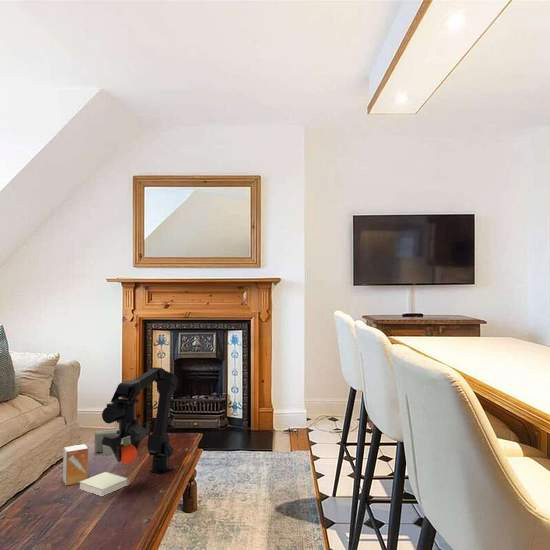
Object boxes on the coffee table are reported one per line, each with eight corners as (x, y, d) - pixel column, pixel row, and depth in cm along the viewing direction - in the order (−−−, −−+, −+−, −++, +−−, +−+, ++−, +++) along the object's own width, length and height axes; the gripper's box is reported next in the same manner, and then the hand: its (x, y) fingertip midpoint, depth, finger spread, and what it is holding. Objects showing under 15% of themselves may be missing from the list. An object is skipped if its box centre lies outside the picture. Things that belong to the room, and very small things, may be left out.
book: (105, 479, 191) (105, 471, 191) (128, 486, 184) (128, 478, 184) (79, 489, 181) (79, 481, 181) (102, 497, 174) (102, 489, 174)
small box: (65, 486, 183) (66, 451, 184) (62, 480, 189) (63, 447, 189) (88, 481, 188) (88, 447, 188) (84, 476, 193) (84, 443, 194)
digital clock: (132, 448, 227) (132, 425, 228) (129, 455, 218) (129, 431, 219) (96, 449, 225) (97, 426, 226) (91, 456, 216) (92, 432, 217)
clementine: (115, 467, 175) (116, 447, 176) (113, 461, 182) (114, 442, 182) (138, 464, 179) (139, 445, 179) (135, 459, 185) (135, 440, 185)
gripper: (122, 425, 169) (122, 470, 169) (160, 414, 185) (160, 455, 185) (101, 421, 175) (100, 465, 174) (139, 410, 191) (139, 450, 190)
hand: (126, 458), depth 181 cm, fingers closed on clementine, 7 cm apart
